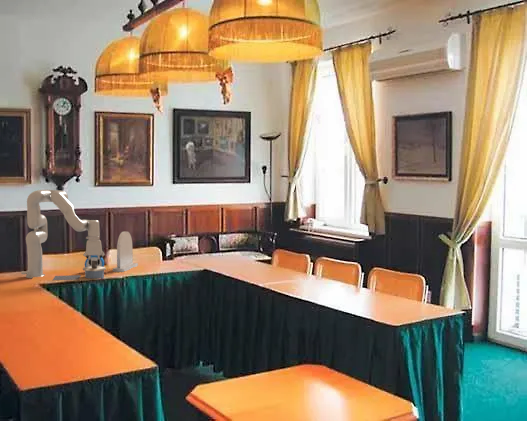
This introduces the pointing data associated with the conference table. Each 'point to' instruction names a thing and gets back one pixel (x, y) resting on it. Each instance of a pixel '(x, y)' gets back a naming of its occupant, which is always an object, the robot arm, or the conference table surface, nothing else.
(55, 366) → the conference table surface
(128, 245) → the award
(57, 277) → the mat
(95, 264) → the lid
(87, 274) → the gray square block
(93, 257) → the alarm clock
